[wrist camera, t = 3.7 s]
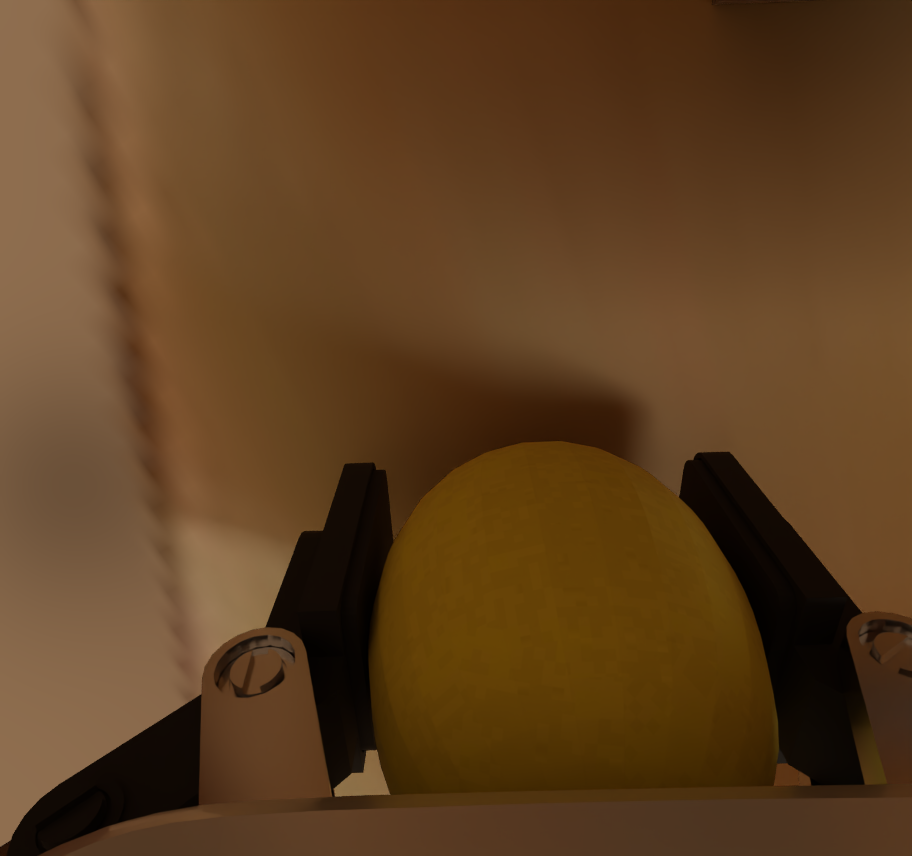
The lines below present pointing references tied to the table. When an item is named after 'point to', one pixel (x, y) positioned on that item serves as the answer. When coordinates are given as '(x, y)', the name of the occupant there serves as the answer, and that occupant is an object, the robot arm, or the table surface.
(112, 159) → the table surface
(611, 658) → the lemon
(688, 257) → the table surface
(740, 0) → the frame
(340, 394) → the table surface
